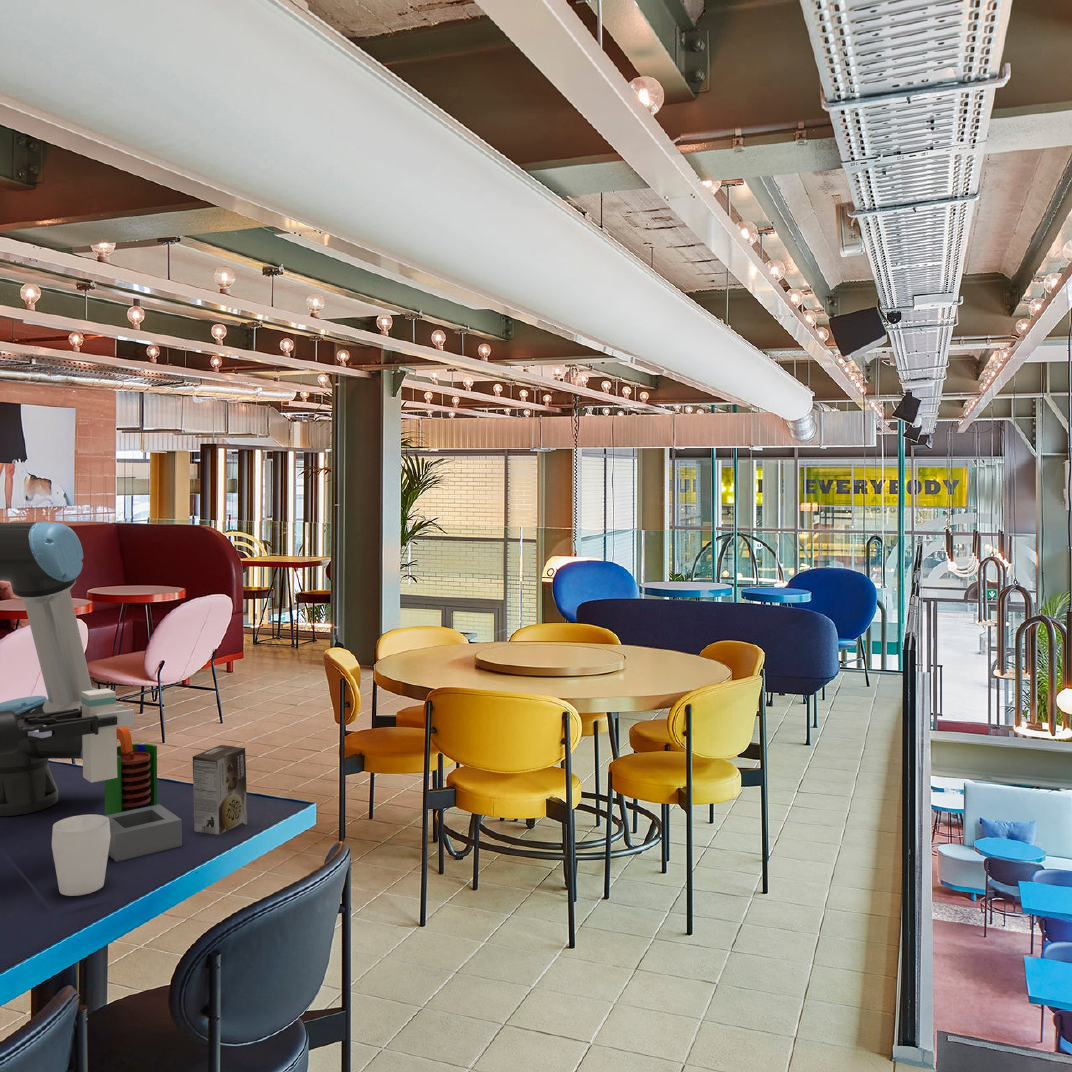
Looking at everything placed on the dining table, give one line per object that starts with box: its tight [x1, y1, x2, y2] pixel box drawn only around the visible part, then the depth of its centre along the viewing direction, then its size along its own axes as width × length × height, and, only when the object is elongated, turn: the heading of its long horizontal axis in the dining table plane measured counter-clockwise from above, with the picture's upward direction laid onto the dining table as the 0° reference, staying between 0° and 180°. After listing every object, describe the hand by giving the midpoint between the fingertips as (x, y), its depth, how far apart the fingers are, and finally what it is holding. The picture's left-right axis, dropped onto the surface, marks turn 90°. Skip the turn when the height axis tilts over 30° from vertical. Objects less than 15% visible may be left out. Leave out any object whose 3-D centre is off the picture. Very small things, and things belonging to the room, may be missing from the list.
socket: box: [106, 803, 183, 862], centre depth 182 cm, size 12×12×6 cm
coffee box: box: [192, 744, 248, 835], centre depth 193 cm, size 9×6×16 cm
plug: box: [81, 687, 118, 783], centre depth 177 cm, size 5×5×16 cm
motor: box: [104, 726, 158, 816], centre depth 195 cm, size 10×9×20 cm
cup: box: [51, 814, 111, 897], centre depth 163 cm, size 9×9×12 cm
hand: (128, 714), depth 181 cm, fingers closed on plug, 5 cm apart
